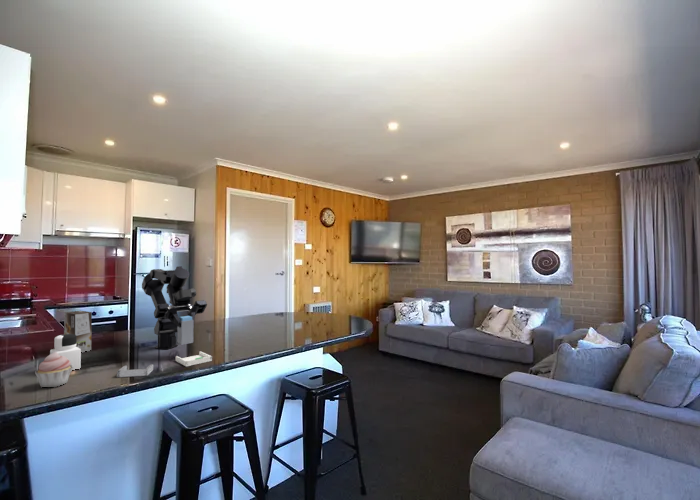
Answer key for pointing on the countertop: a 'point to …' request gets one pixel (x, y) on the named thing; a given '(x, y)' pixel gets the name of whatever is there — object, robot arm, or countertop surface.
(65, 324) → the coffee box
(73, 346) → the medicine bottle
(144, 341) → the countertop surface
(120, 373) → the shallow white tray
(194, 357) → the dock tray
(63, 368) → the cupcake
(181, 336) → the fibre plug
